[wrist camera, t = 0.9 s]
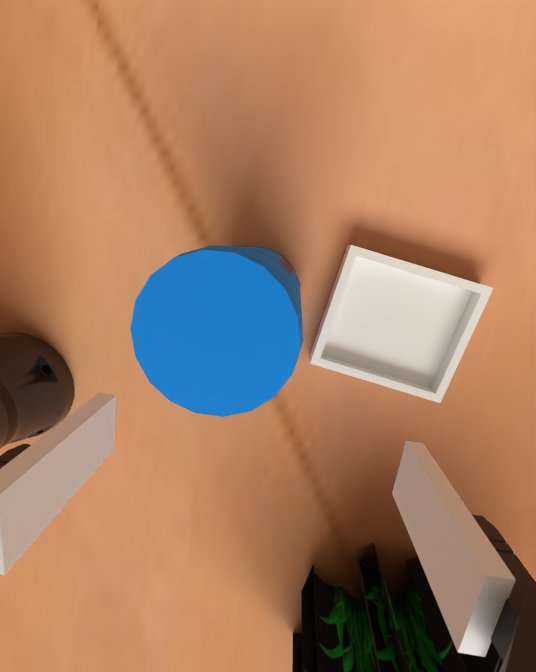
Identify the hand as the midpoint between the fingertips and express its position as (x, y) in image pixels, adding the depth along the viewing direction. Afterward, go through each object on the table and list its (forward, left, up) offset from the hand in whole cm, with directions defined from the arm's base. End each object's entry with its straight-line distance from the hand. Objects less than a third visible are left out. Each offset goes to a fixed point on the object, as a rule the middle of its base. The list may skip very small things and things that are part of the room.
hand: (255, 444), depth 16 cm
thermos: (-4, +2, -32) cm, 32 cm away
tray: (+13, +3, -31) cm, 34 cm away
